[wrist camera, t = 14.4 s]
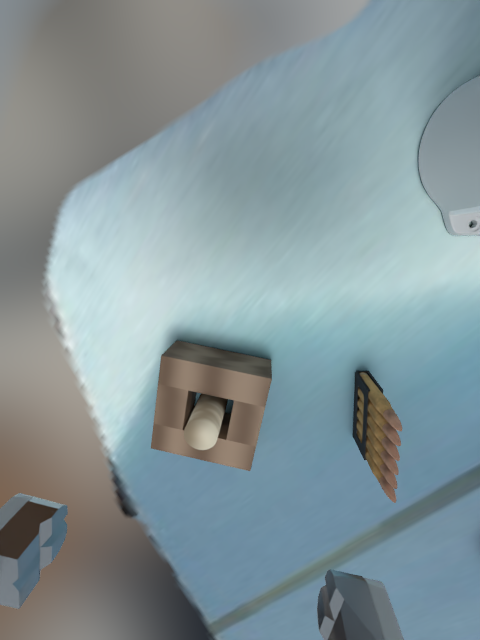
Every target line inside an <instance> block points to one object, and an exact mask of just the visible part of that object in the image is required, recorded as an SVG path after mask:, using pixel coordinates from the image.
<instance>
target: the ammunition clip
mask: <svg viewBox="0 0 480 640" xmlns="http://www.w3.org/2000/svg"><path fill="white" fill-rule="evenodd" d="M396 430H398V431H402V425H401V422H400V420H399V418H398V416H397V415H396V414H395V412H394V410H393V409H392V407H391V405H390V403H389V401H388V400H387V399H386V397H385V396H384V395H383V389H382V388H381V387H380V385H379V384H378V383H377V381H376V380H375V379H374V377H373V376H372V375H371V373H370V372H369V371H356V372H355V390H354V418H353V438H354V440H355V442H356V444H357V446H358V448H359V450H360V452H361V454H362V456H363V458H364V460H367V462H368V464H369V466H370V468H371V470H372V472H373V474H374V475H375V476H376V478H377V480H378V481H379V483H380V485H381V487H382V489H383V490H384V492H385V493H386V495H387V496H388V497H389V498H390V499H391V500H392V501H393V502H394V503H395V502H396V495H395V491H394V489H393V488H395V489H397V481H396V478H395V475H394V474H396V475H398V467H397V464H396V461H395V460H397V461H399V460H400V457H399V452H398V450H397V447H396V445H397V446H401V441H400V438H399V435H398V433H397V431H396ZM395 444H396V445H395Z"/></svg>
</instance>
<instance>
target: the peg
mask: <svg viewBox="0 0 480 640" xmlns="http://www.w3.org/2000/svg"><path fill="white" fill-rule="evenodd" d="M227 402H228V399H225V398H221V397H216V396H211V395H207V394H202V393H201V395H200V397H199V399H198V402H197V404H196V406H195V408H194V410H193V412H192V414H191V416H190V419H189V421H188V423H187V425H186V427H185V429H184V438H185V440H186V442H187V443H188V444H189V445H190V446H191V447H193V448H195V449H198V450H207V449H210V448H212V447H213V446H214V445H215V444H216V442H217V438H218V435H219V431H220V427H221V424H222V420H223V416H224V413H225V409H226V405H227Z"/></svg>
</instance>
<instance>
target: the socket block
mask: <svg viewBox="0 0 480 640" xmlns="http://www.w3.org/2000/svg"><path fill="white" fill-rule="evenodd" d="M271 380H272V371H271V360H269V359H264V358H259V357H254V356H250V355H245V354H240V353H235V352H230V351H226V350H221V349H216V348H211V347H207V346H202V345H197V344H192V343H187V342H183V341H178V340H177V341H176V342H175V343H174V344H173V345H172V346H171V347H170V348H169V349H168V350H167V351H166V352H165V353H164V354H162V355H161V364H160V373H159V381H158V390H157V399H156V408H155V416H154V425H153V434H152V443H151V448H152V449H157V450H161V451H165V452H170V453H174V454H178V455H183V456H187V457H191V458H196V459H200V460H204V461H209V462H213V463H218V464H222V465H226V466H231V467H235V468H239V469H244V470H248V471H250V470H251V465H252V461H253V457H254V452H255V448H256V444H257V440H258V435H259V431H260V427H261V423H262V418H263V414H264V410H265V405H266V401H267V397H268V393H269V388H270V384H271ZM196 392H198V393H202V394H207V395H211V396H216V397H221V398H225V399H230V400H234V404H233V409H232V414H230V413H224V416H223V420H222V424H221V427H220V431H219V435H218V438H217V442H216V444H215V445H214V446H213V447H212V448H210V449H207V450H198V449H195V448H193V447H191V446H190V445H189V444H188V443H187V442H186V440H185V438H184V429H185V427H186V425H187V423H188V421H189V419H190V416H191V414H192V412H193V410H194V408H195V406H194V403H195V396H196Z"/></svg>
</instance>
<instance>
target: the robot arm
mask: <svg viewBox="0 0 480 640" xmlns="http://www.w3.org/2000/svg"><path fill="white" fill-rule="evenodd" d="M419 172H420V177H421V180H422V183H423V186H424V188H425V190H426V192H427V193H428V195H429V196H430V198H431V199H432V200H433V201H434V202H435V203H436V205H437V206H438V207H439V208H440V210H441V212H442V215H443V219H444V223H445V226H446V229H447V231H448V232H449V233H450V234H451V235H454V236H480V75H479V76H477V77H475V78H473V79H471V80H469V81H468V82H466V83H464V84H463V85H461V86H460V87H458V88H457V89H456V90H454V91H453V92H452V93H451V94H450V95H449V96H448V97H447V98H446V99H445V100H444V101H443V102H442V103H441V104H440V105H439V107H438V108H437V109H436V111H435V112H434V114H433V115H432V117H431V119H430V120H429V122H428V124H427V126H426V129H425V131H424V134H423V136H422V140H421V144H420V149H419ZM471 221H472V223H473V225H472V227H471V228H470V227H469V223H470V222H471ZM66 515H67V505H63V504H59V503H55V502H52V501H48V500H44V499H40V498H37V497H33V496H29V495H25V494H21V493H19V494H17V495H15V496H14V497H12V498H11V499H10V500H9V501H8V502H7V503H6V504H5V505H4V506H2V508H0V605H5V606H9V607H14V608H18V609H19V608H20V607H21V606H22V604H23V603H24V601H25V600H26V598H27V597H28V596H29V594H30V593H31V591H32V590H33V588H34V587H35V585H36V584H37V583H38V581H39V579H40V570H41V569H42V568H44V567H45V566H47V565H48V564H50V563H51V562H52V561H53V560H54V558H55V556H56V555H57V554H58V552H59V550H60V548H61V546H62V544H63V542H64V540H65V536H66V533H67V524H66V522H65V521H64V518H65V516H66ZM325 581H326V585H325V586H323V587H322V588H321V589H320V593H319V596H318V605H317V613H318V625H319V631H320V633H321V635H322V637H323V638H324V640H404V639H403V636H402V633H401V630H400V627H399V625H398V622H397V619H396V616H395V613H394V610H393V608H392V605H391V602H390V599H389V596H388V593H387V591H386V588H385V586H384V585H383V583H382V582H380V581H377V580H372V579H368V578H363V577H362V576H358V575H353V574H349V573H344V572H340V571H335V570H331V569H330V570H328V571H327V573H326V576H325Z"/></svg>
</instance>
